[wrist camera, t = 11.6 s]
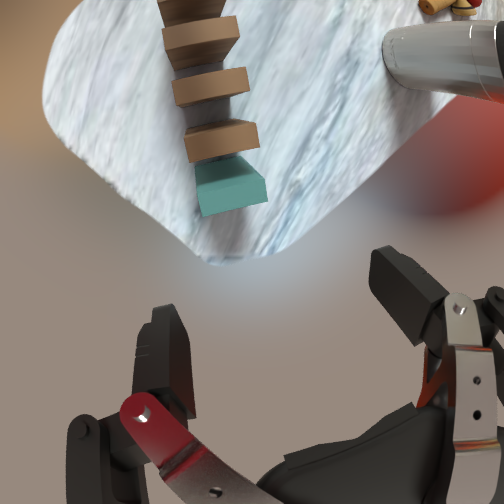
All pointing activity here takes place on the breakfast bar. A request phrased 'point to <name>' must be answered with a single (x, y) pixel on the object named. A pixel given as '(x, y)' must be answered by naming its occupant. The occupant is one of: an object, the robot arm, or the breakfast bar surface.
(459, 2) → the kendama
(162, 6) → the domino
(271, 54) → the breakfast bar surface
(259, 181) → the teal domino
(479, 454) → the robot arm
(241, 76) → the domino
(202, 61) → the domino
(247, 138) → the domino
